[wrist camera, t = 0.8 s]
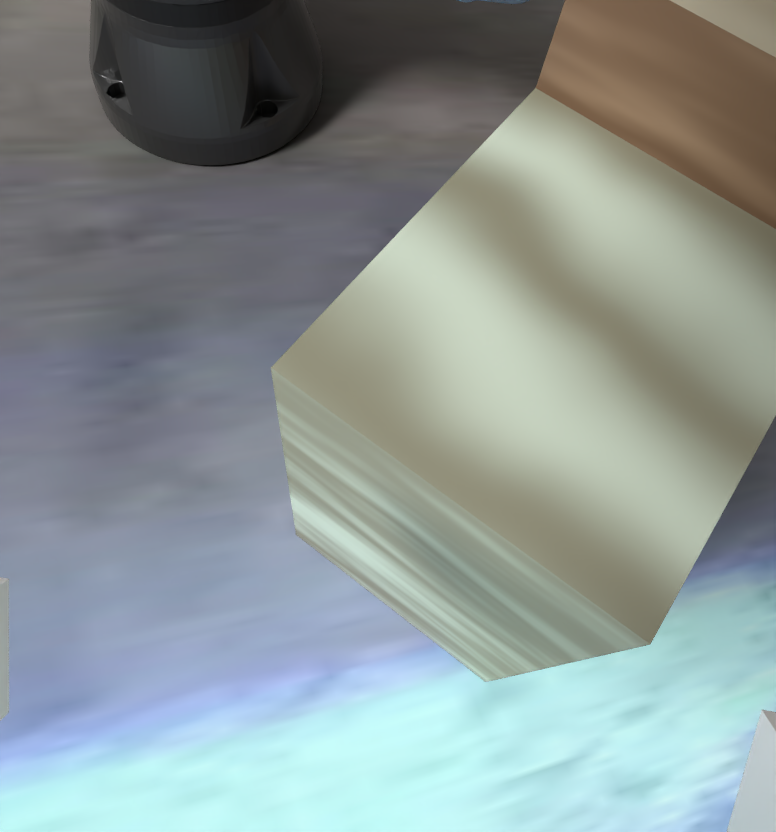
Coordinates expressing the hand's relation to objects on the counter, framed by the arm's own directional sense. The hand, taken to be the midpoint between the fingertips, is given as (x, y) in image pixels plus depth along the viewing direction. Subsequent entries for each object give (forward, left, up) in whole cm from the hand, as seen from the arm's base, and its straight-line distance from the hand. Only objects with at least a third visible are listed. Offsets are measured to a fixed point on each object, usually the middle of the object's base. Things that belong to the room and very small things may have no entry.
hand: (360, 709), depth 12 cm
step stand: (-17, +9, -23) cm, 30 cm away
